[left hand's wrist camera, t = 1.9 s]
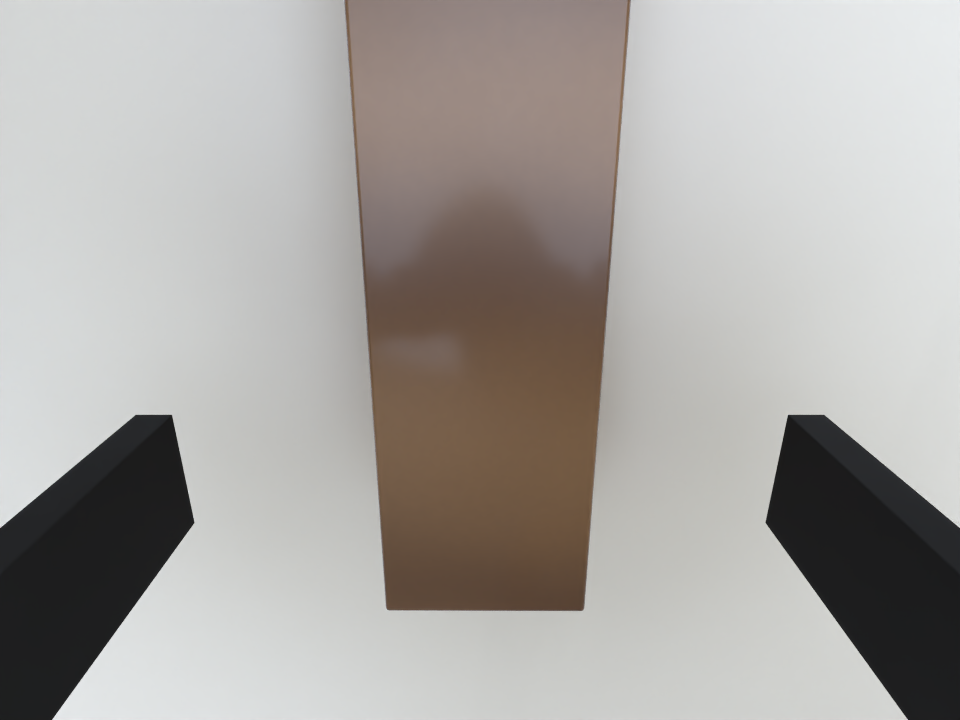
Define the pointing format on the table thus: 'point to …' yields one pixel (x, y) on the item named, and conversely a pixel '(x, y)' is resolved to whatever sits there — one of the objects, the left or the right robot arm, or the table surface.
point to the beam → (486, 286)
